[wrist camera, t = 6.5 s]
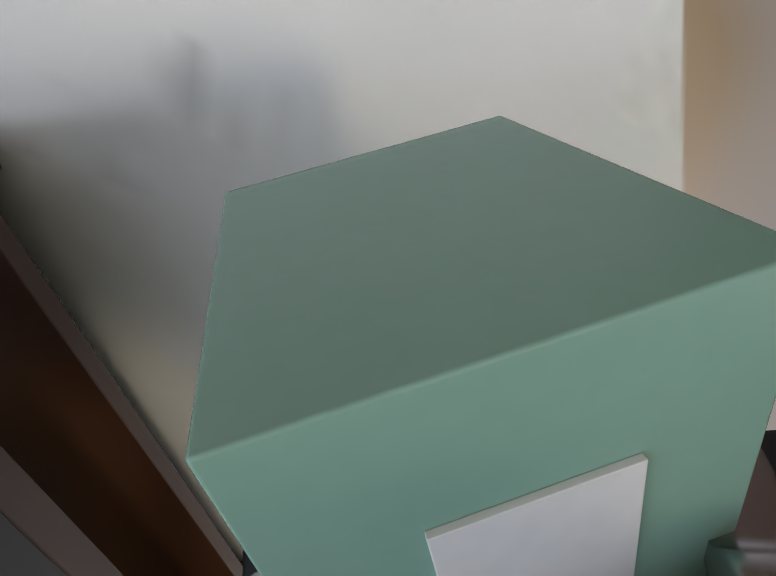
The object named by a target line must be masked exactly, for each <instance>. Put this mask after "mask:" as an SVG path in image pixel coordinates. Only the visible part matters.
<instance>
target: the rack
mask: <svg viewBox="0 0 776 576" xmlns="http://www.w3.org/2000/svg"><path fill="white" fill-rule="evenodd" d="M0 169H2V167H1V165H0ZM242 573H243V563H240V562H239V560H238V559H237V557H236V556H235V554H234V553H233V551H232V550H231V549H230V547H229V546H228V544H227V543H226V541H225V540H224V538H223V537H222V535H221V534H220V533H219V531H218V530H217V528H216V527H215V525H214V524H213V522H212V521H211V520H210V518H209V517H208V515H207V514H206V512H205V511H204V509H203V508H202V506H201V505H200V504H199V502H198V501H197V499H196V498H195V496H194V495H193V493H192V492H191V490H190V489H189V488H188V486H187V485H186V483H185V482H184V480H183V479H182V477H181V476H180V474H179V473H178V472H177V470H176V469H175V467H174V466H173V464H172V463H171V461H170V460H169V459H168V457H167V456H166V454H165V453H164V451H163V450H162V448H161V447H160V445H159V444H158V443H157V441H156V440H155V438H154V437H153V435H152V434H151V432H150V431H149V429H148V428H147V427H146V425H145V424H144V422H143V421H142V419H141V418H140V416H139V415H138V413H137V412H136V411H135V409H134V408H133V406H132V405H131V403H130V402H129V400H128V399H127V398H126V396H125V395H124V393H123V392H122V390H121V389H120V387H119V386H118V384H117V383H116V382H115V380H114V379H113V377H112V376H111V374H110V373H109V371H108V370H107V368H106V367H105V366H104V364H103V363H102V361H101V360H100V358H99V357H98V355H97V354H96V352H95V351H94V350H93V348H92V347H91V345H90V344H89V342H88V341H87V339H86V338H85V337H84V335H83V334H82V332H81V331H80V329H79V328H78V326H77V325H76V323H75V322H74V321H73V319H72V318H71V316H70V315H69V313H68V312H67V310H66V309H65V307H64V306H63V305H62V303H61V302H60V300H59V299H58V297H57V296H56V294H55V293H54V291H53V290H52V289H51V287H50V286H49V284H48V283H47V281H46V280H45V278H44V277H43V276H42V274H41V273H40V271H39V270H38V268H37V267H36V265H35V264H34V262H33V261H32V260H31V258H30V257H29V255H28V254H27V252H26V251H25V249H24V248H23V246H22V245H21V244H20V242H19V241H18V239H17V238H16V236H15V235H14V233H13V232H12V230H11V229H10V228H9V226H8V225H7V223H6V222H5V220H4V219H3V217H2V216H1V214H0V576H242Z"/></svg>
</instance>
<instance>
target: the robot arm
mask: <svg viewBox="0 0 776 576" xmlns="http://www.w3.org/2000/svg"><path fill="white" fill-rule="evenodd" d="M703 560H704V564H705V569H706V576H776V430H769V431H765V434H764V437H763V441H762V444H761V447H760V450H759V454H758V457H757V460H756V464H755V467H754V470H753V473H752V477H751V480H750V483H749V486H748V490H747V493H746V496H745V499H744V503H743V506H742V509H741V513H740V516H739V519H738V522H737V526H736V529H735V530H734V531H733V532H730V533H728V534H725V535H722V536H720V537H717V538H714V539H711V540H708V544H707V548H706V552H705V555H704V559H703ZM242 576H261V575H260V574H259V572H258V571H257V569H256V568H255V566H254V565H253V563H252V562H251V560H250V558H249V557H248V555H247V554H246V552H245V551H244V549H243V573H242Z"/></svg>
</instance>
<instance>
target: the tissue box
mask: <svg viewBox="0 0 776 576" xmlns="http://www.w3.org/2000/svg"><path fill="white" fill-rule="evenodd" d="M775 398H776V231H774V230H772V229H770V228H767V227H765V226H762V225H760V224H758V223H755V222H753V221H751V220H748V219H746V218H743V217H741V216H739V215H736V214H734V213H731V212H729V211H727V210H724V209H721V208H719V207H717V206H715V205H712V204H710V203H707V202H705V201H703V200H700V199H698V198H696V197H693V196H691V195H688V194H686V193H684V192H681V191H679V190H676V189H674V188H672V187H669V186H667V185H664V184H662V183H660V182H657V181H655V180H653V179H650V178H648V177H645V176H643V175H641V174H638V173H636V172H633V171H631V170H629V169H626V168H624V167H621V166H619V165H617V164H614V163H612V162H610V161H607V160H605V159H602V158H600V157H598V156H595V155H593V154H590V153H588V152H586V151H583V150H581V149H578V148H576V147H574V146H571V145H569V144H567V143H564V142H562V141H559V140H557V139H555V138H552V137H550V136H547V135H545V134H543V133H540V132H538V131H535V130H533V129H531V128H528V127H526V126H524V125H521V124H519V123H516V122H514V121H512V120H509V119H507V118H504V117H502V116H497V117H493V118H490V119H486V120H483V121H479V122H476V123H472V124H468V125H465V126H461V127H458V128H454V129H451V130H447V131H443V132H440V133H436V134H433V135H429V136H426V137H422V138H418V139H415V140H411V141H408V142H404V143H400V144H397V145H393V146H390V147H386V148H383V149H379V150H375V151H372V152H368V153H365V154H361V155H358V156H354V157H350V158H347V159H343V160H340V161H336V162H333V163H329V164H325V165H322V166H318V167H315V168H311V169H308V170H304V171H300V172H297V173H293V174H290V175H286V176H282V177H279V178H275V179H272V180H268V181H265V182H261V183H257V184H254V185H250V186H247V187H243V188H240V189H236V190H232V191H229V192H227V193H226V194H225V201H224V207H223V214H222V221H221V227H220V234H219V240H218V247H217V254H216V260H215V267H214V273H213V280H212V287H211V293H210V300H209V306H208V313H207V320H206V326H205V333H204V339H203V346H202V353H201V359H200V366H199V372H198V379H197V386H196V392H195V399H194V405H193V412H192V419H191V425H190V432H189V438H188V445H187V452H186V462H187V464H188V466H189V467H190V469H191V470H192V472H193V473H194V475H195V476H196V478H197V479H198V481H199V482H200V484H201V486H202V487H203V489H204V490H205V492H206V493H207V495H208V496H209V498H210V499H211V501H212V502H213V504H214V505H215V507H216V508H217V510H218V511H219V513H220V514H221V516H222V517H223V519H224V520H225V522H226V524H227V525H228V527H229V528H230V530H231V531H232V533H233V534H234V536H235V537H236V539H237V540H238V542H239V543H240V545H241V546H242V548H243V549H244V551H245V552H246V554H247V555H248V557H249V558H250V560H251V562H252V563H253V565H254V566H255V568H256V569H257V571H258V572H259V574H260V575H261V576H706V569H705V564H704V560H703V559H704V555H705V552H706V548H707V544H708V540H711V539H714V538H717V537H720V536H722V535H725V534H728V533H730V532H733V531H734V530H735V529H736V526H737V522H738V519H739V516H740V513H741V509H742V506H743V503H744V499H745V496H746V493H747V490H748V486H749V483H750V480H751V477H752V473H753V470H754V467H755V464H756V460H757V457H758V454H759V450H760V447H761V444H762V441H763V437H764V434H765V431H766V428H767V424H768V421H769V418H770V414H771V411H772V408H773V405H774V401H775Z"/></svg>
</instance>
